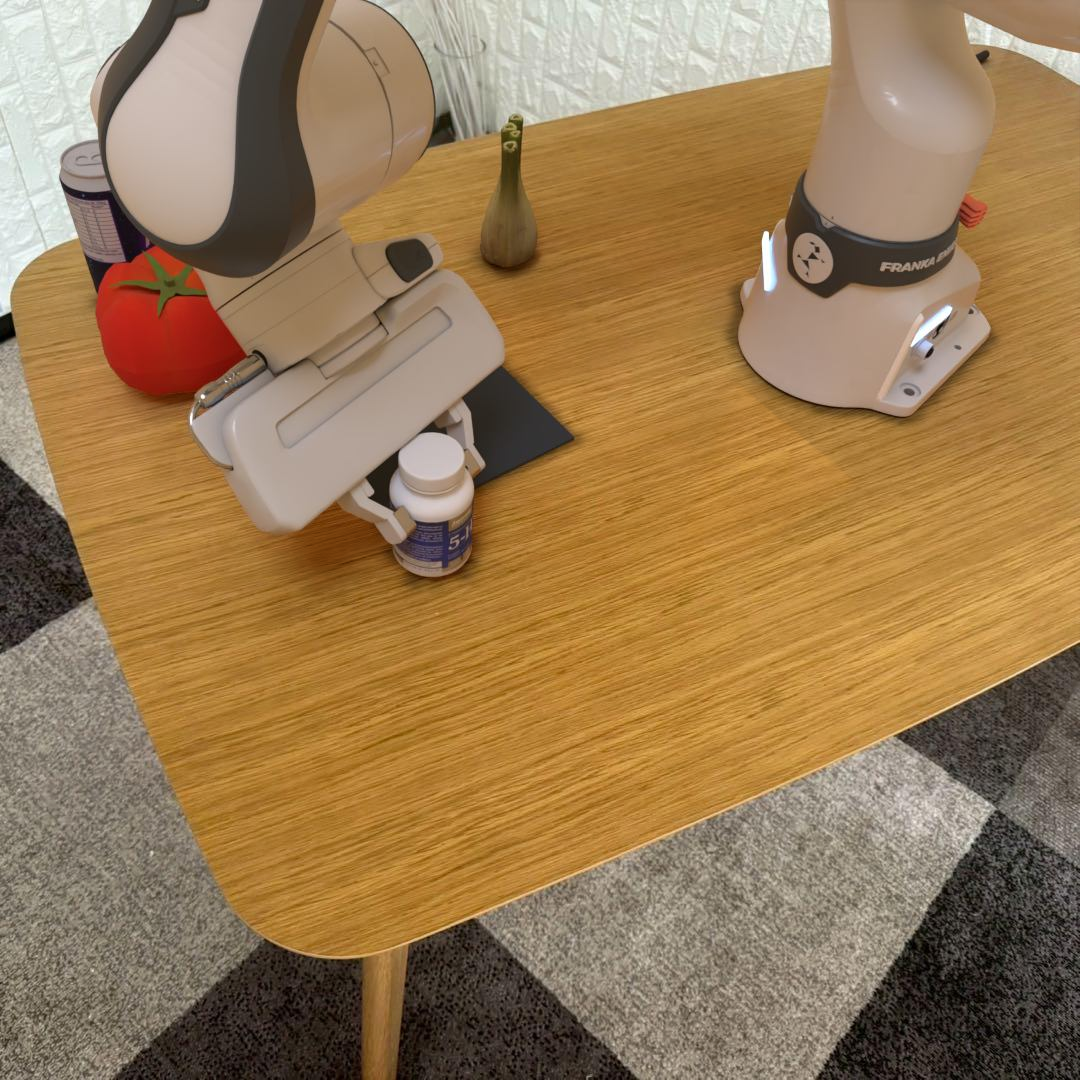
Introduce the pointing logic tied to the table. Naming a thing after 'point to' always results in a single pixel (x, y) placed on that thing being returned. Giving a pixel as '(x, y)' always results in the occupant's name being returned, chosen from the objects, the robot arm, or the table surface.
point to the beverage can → (97, 212)
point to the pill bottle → (434, 504)
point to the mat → (493, 432)
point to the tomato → (162, 326)
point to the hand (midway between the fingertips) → (440, 504)
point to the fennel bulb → (509, 206)
